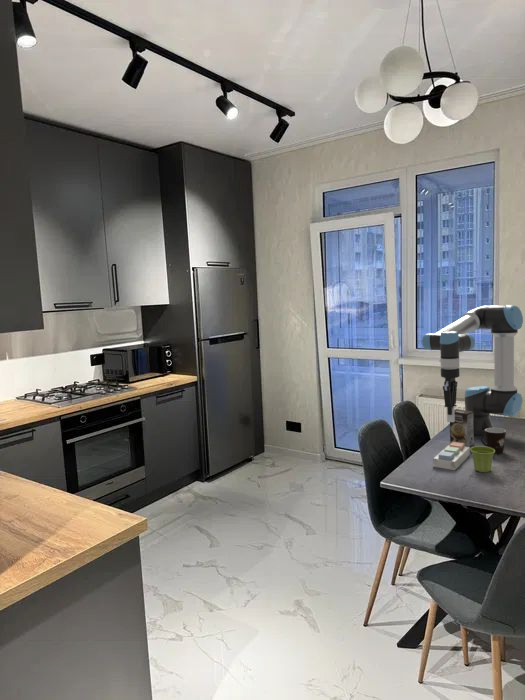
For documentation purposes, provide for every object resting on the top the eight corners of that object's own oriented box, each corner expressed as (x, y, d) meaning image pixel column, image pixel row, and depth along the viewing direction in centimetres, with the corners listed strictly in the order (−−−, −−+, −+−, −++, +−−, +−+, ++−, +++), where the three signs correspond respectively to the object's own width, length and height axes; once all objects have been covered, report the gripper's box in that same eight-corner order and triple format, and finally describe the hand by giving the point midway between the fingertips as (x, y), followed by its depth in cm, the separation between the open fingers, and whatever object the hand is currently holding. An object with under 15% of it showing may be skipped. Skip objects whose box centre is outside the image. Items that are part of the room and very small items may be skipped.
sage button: (447, 452, 225) (447, 446, 225) (459, 454, 222) (459, 447, 222) (444, 456, 221) (444, 449, 221) (456, 457, 218) (455, 451, 218)
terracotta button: (453, 448, 231) (453, 441, 231) (464, 449, 228) (464, 443, 228) (449, 451, 227) (449, 444, 227) (461, 452, 224) (461, 446, 224)
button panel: (449, 451, 233) (449, 444, 233) (469, 454, 228) (469, 447, 227) (433, 466, 216) (433, 458, 216) (454, 470, 211) (454, 462, 210)
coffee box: (449, 443, 245) (448, 411, 243) (456, 440, 249) (455, 408, 247) (467, 447, 238) (466, 413, 236) (474, 444, 242) (473, 411, 240)
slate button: (442, 457, 219) (442, 451, 219) (454, 459, 216) (454, 452, 216) (438, 461, 215) (438, 454, 215) (450, 463, 212) (450, 456, 212)
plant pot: (492, 466, 212) (492, 446, 211) (497, 474, 203) (497, 453, 202) (468, 465, 214) (468, 446, 213) (472, 473, 205) (472, 453, 204)
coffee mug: (502, 448, 233) (501, 427, 232) (509, 454, 225) (508, 432, 224) (475, 449, 234) (475, 428, 233) (481, 455, 226) (481, 433, 225)
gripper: (445, 365, 225) (446, 417, 227) (436, 369, 214) (437, 424, 217) (463, 365, 220) (464, 419, 223) (454, 370, 210) (455, 426, 212)
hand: (450, 421), depth 220 cm, fingers closed
